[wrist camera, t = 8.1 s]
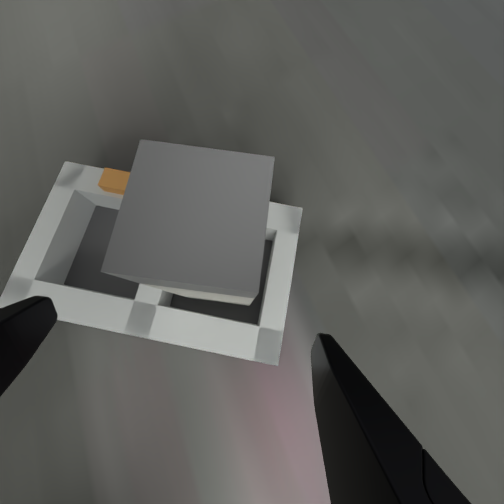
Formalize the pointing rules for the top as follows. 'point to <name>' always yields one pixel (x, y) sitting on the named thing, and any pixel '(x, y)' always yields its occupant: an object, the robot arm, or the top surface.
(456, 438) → the top surface
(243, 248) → the grey tall block
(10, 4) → the top surface
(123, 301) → the white rectangular frame
